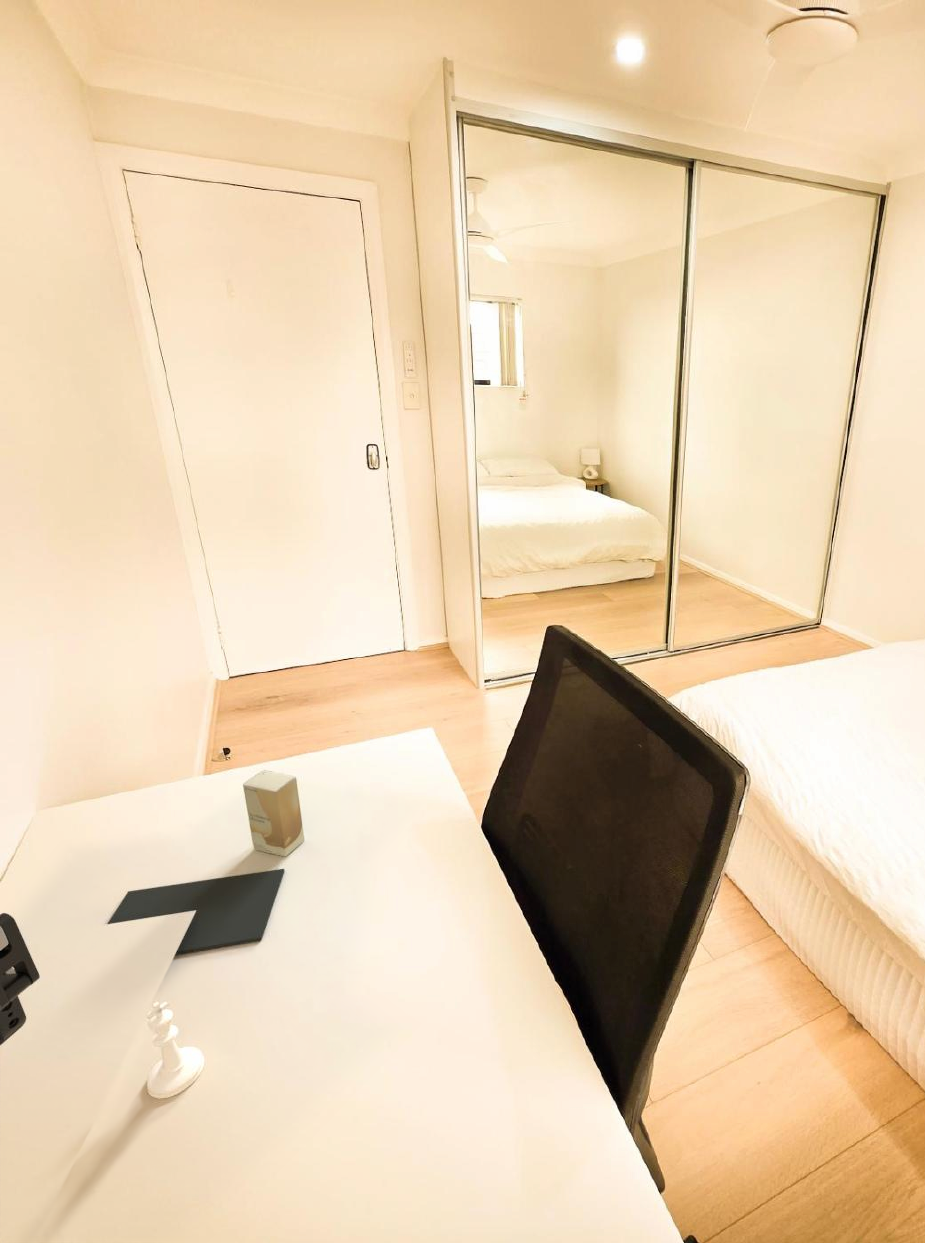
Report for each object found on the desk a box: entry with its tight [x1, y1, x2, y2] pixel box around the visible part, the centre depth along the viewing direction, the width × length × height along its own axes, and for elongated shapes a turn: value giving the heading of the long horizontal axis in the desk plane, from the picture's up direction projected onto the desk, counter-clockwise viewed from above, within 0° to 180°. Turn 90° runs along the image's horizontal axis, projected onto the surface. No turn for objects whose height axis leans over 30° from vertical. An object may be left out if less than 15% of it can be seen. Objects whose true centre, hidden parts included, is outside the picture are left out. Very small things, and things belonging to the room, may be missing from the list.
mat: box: [107, 868, 285, 956], centre depth 83 cm, size 20×13×1 cm, turn 105°
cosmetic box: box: [242, 769, 305, 857], centre depth 95 cm, size 6×4×12 cm
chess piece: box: [146, 1000, 205, 1099], centre depth 62 cm, size 5×5×10 cm
